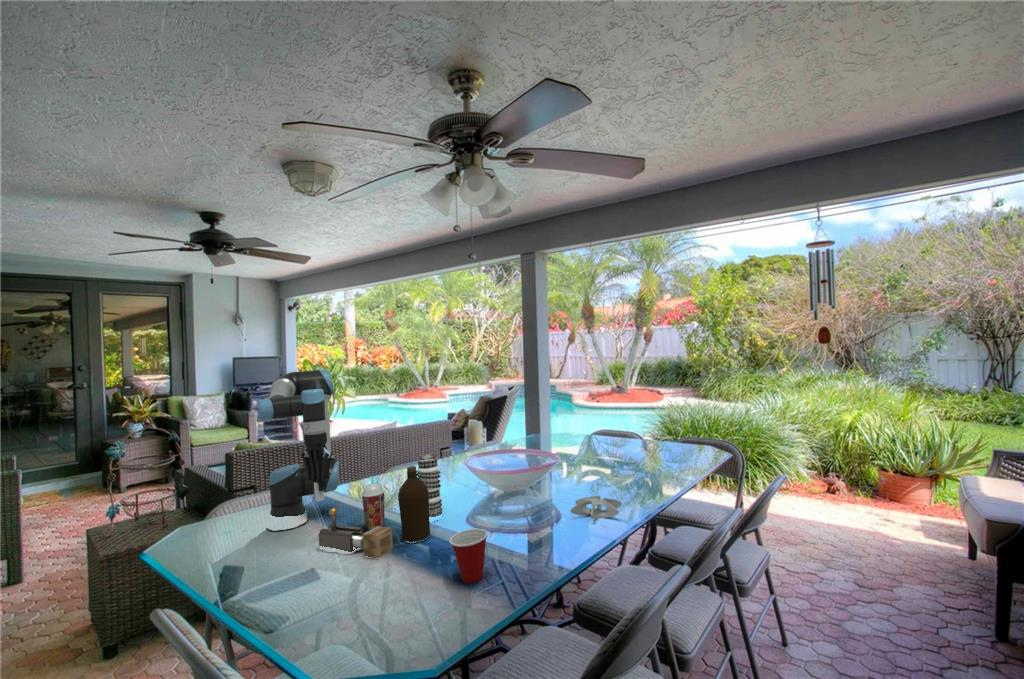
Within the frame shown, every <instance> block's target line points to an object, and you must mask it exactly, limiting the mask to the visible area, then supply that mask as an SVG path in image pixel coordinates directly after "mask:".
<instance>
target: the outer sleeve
mask: <svg viewBox="0 0 1024 679" xmlns="http://www.w3.org/2000/svg"><path fill="white" fill-rule="evenodd" d="M336 525H337V530H332V525H331V524H330V525H328V526H327V528H321V529H320V530H319V532H318V544H319V545H318V546H322V547H323V546H324V547H330V548H336V549H340V550H344V551H348V552H352V551H354V550H355V549H354V550H353V546H352V535H359V536H363V534H364V533H365V532H364V529H363V527H357V526H350V525H338V524H336ZM356 549H357V548H356Z"/></svg>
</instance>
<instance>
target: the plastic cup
mask: <svg viewBox="0 0 1024 679" xmlns="http://www.w3.org/2000/svg"><path fill="white" fill-rule="evenodd" d="M487 537H488V531H487V530H486V529H484V528H483V529H482V528H470V529H469V528H468V529H465V530H461V531H459V532H456V533H455V534H453V535H452V536H451V537H450V538H449V544H450V545H451V546H452V548H453V551H454V554H455V558H456V562H457V566H458V569H459V572H460V576H461V577H460V578H461V579H462V581H463V582H464V583H466V584H474V583H475V584H476V583H477V582H480V581H482V579H483V576H484V566H485V556H486V555H485V554H486V543H487Z"/></svg>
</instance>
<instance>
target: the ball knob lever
mask: <svg viewBox="0 0 1024 679" xmlns="http://www.w3.org/2000/svg"><path fill="white" fill-rule="evenodd" d="M337 513H338V509H337V508H336V507H331V508H330V509H329V511H328V514H329V515H330V525H332V530H337V525H338V524H337ZM352 546H353V547H355V548H362V549H364V546H363V536H359V535H352Z"/></svg>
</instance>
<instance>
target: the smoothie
mask: <svg viewBox="0 0 1024 679" xmlns="http://www.w3.org/2000/svg"><path fill="white" fill-rule="evenodd" d="M370 479H371V483H369V484H367V485H366V486H364V488H363V491H362V493H361V499H362V500H361V501H362V508H363V515H364V516H363V517H364V523H365V528H366V527H377V526H380V525H383V524H384V522H385V517H386V516H385V490H384V489H383V487H382V486H381V484H379V483H377V482H374V476H373V475H371V476H370ZM384 525H385V524H384Z"/></svg>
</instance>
